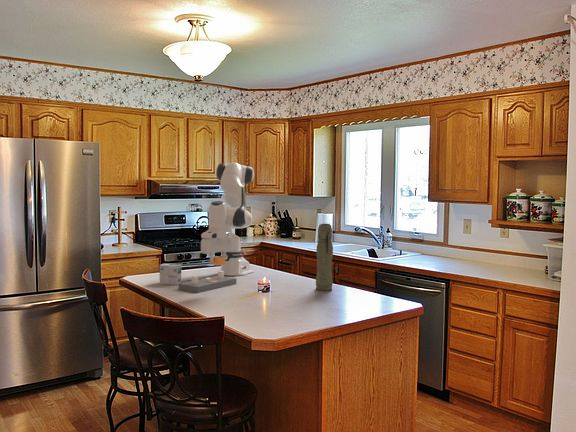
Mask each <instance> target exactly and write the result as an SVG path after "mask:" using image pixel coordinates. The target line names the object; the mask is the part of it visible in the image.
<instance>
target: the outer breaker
mask: <svg viewBox="0 0 576 432" xmlns="http://www.w3.org/2000/svg"><path fill="white" fill-rule="evenodd" d="M198 280H199V275H191V281H192V284H198Z"/></svg>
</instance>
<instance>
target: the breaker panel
mask: <svg viewBox="0 0 576 432" xmlns="http://www.w3.org/2000/svg"><path fill="white" fill-rule="evenodd" d="M208 278H212V281H210V282H207V281H205V277H204V278H201V279H200V278H198V284H192V280H190V281H185V282H181V283H179V284H178V290H180V291H181V290H182V291H186V292H191V293H203V292H206V291H211V290H216V289H220V288H221V289H222V288H225V287H229V286H232V285H233V286H234V285H237V278H234V277H231V276H230V277H229V276H224V279H218V275H215V276H210V277H208Z"/></svg>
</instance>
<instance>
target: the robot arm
mask: <svg viewBox="0 0 576 432" xmlns="http://www.w3.org/2000/svg"><path fill="white" fill-rule="evenodd" d="M215 176H216V179H217V180H219V181H220V188H221V190H222V191H223V192H224V193H225V194H224V201H222V200H215V201H212V202H210V204H209V209H208V221H209V225H208V229H207V230H206V231H204V232H202V233H201V234H200V237H201V241H200V252H201V254H205V255H208V257H209V262H210V261H211V262H215V258H214V257H215V256H214V254H215V253H221V255H219V256H220V257H225V264H223V265H220V270H219V271H224V276H228V277H229V276H230V277H231V276H246V275H249V274H252V273H254V271H255V270H254V269H251V265H250V262H249V261H248V260H247V259H245V257H244V256H243V255H245V254H246V251H243V250H241V247H242V244H241V241H242V239H241V238H240V237H239V236H238V235H236V234H235V233H233V231H232V230H233V229H245V228H249V227H250V226H252V223H253V215H252V214H251V212H249V210H247V192H246V188H245V186H246V185H249V184H251V183H252V182H253V181H254V179H255V170H254V168H253V167H252V166H249V165H243V164H239V163H238V162H236V161H235V162H234V161H231V162H229V163H225V162H221V163H219V164H218V165H217V167H216V169H215ZM226 204H227V205H228V206H230V207H227V206H226Z"/></svg>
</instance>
